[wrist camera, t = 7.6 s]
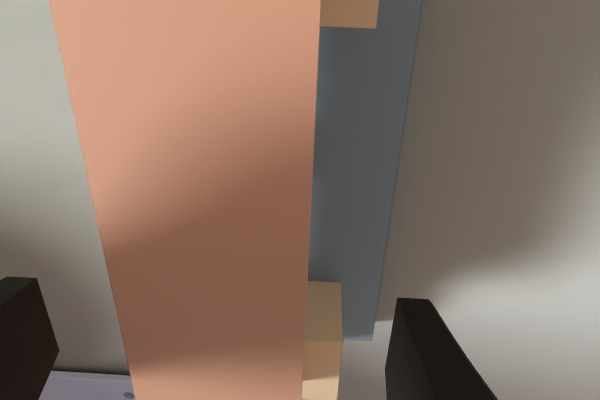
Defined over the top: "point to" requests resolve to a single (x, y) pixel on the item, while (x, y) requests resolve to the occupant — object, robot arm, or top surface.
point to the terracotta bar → (200, 183)
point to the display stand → (353, 173)
